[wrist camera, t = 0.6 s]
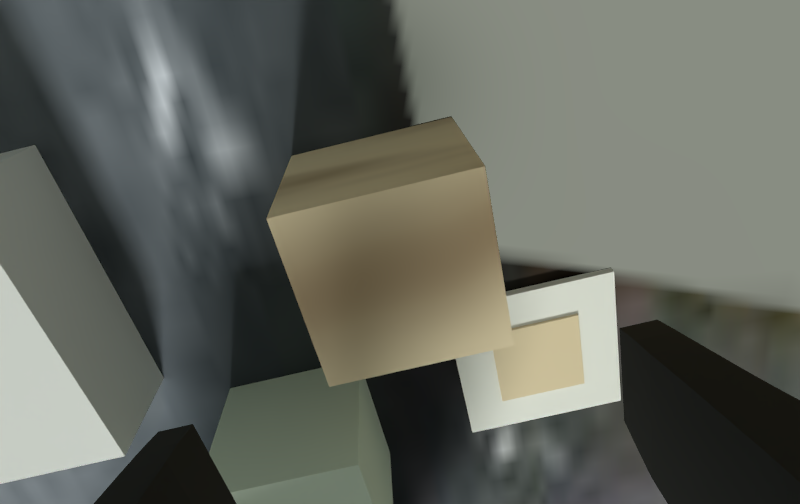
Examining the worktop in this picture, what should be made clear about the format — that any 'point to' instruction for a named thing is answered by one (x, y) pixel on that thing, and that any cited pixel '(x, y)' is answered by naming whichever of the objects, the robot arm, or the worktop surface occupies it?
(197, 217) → the worktop surface
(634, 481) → the worktop surface
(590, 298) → the card
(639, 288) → the worktop surface
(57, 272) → the grey base block
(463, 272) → the maple cube
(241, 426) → the sage cube
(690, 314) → the worktop surface
